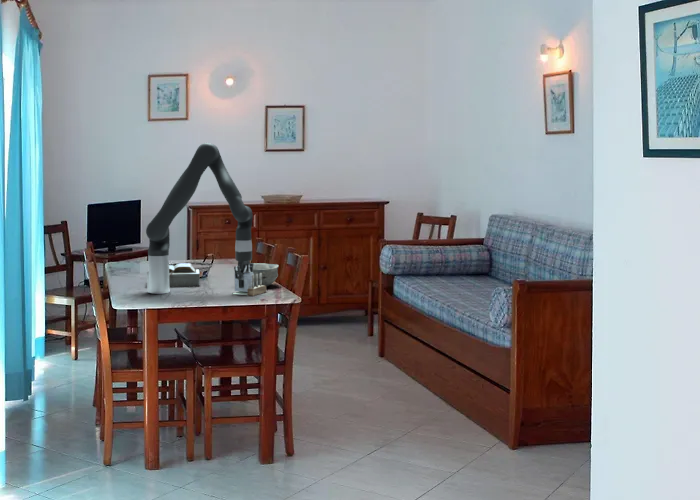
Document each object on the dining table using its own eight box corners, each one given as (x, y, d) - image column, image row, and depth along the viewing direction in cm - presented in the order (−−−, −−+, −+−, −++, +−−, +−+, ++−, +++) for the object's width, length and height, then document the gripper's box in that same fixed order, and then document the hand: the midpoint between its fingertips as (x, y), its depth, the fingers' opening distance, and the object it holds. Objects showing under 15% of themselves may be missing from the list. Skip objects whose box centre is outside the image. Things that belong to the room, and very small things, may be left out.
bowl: (237, 290, 421) (237, 269, 420) (233, 284, 441) (233, 263, 440) (281, 288, 425) (281, 267, 424) (276, 282, 445) (276, 262, 444)
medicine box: (254, 291, 413) (254, 272, 412) (248, 292, 409) (247, 273, 408) (240, 289, 417) (240, 271, 416) (234, 291, 413) (234, 272, 412)
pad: (232, 294, 410) (232, 293, 410) (243, 290, 419) (243, 290, 419) (247, 295, 407) (247, 294, 407) (258, 291, 416) (258, 291, 416)
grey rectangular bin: (197, 288, 429) (197, 268, 428) (141, 288, 429) (140, 268, 428) (206, 281, 452) (205, 262, 451) (152, 281, 453) (151, 262, 451)
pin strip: (247, 295, 406) (247, 275, 405) (260, 291, 416) (260, 272, 416) (253, 296, 404) (253, 276, 403) (266, 292, 415) (266, 272, 414)
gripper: (244, 248, 419) (244, 284, 421) (228, 251, 406) (228, 288, 408) (258, 248, 416) (259, 285, 418) (242, 252, 403) (243, 289, 405)
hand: (244, 286), depth 413 cm, fingers closed on medicine box, 4 cm apart
